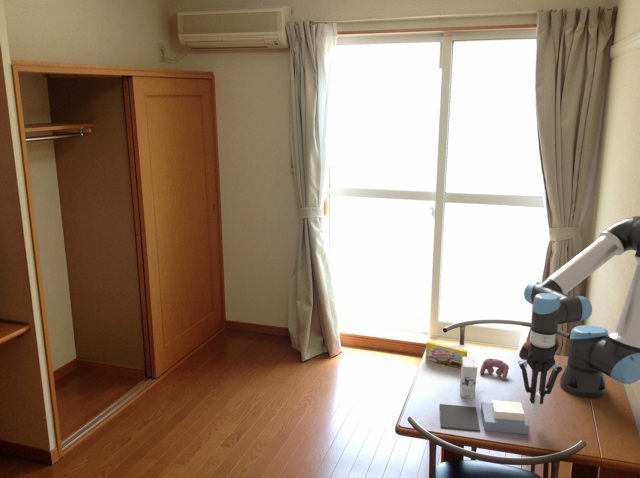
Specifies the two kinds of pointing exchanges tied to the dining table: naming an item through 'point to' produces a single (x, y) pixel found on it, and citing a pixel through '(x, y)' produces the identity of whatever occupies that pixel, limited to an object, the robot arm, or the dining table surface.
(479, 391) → the dining table surface
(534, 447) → the dining table surface
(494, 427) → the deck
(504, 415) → the tile
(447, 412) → the mat
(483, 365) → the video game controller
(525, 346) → the brown animal figurine
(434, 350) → the candy box
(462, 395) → the ink box
